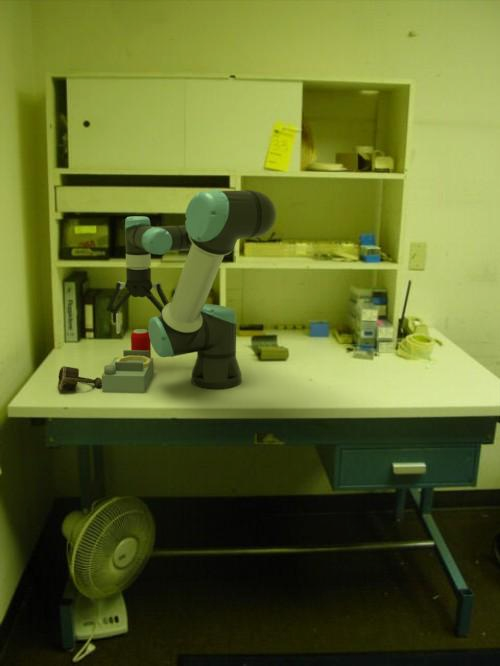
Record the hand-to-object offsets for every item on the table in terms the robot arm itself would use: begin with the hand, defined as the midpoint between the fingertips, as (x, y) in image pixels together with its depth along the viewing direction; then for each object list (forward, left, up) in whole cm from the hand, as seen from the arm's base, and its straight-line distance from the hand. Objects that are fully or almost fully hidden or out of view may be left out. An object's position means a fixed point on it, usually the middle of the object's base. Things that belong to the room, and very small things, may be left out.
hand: (140, 333), depth 196 cm
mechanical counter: (+14, +22, -11) cm, 28 cm away
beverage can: (0, 0, -11) cm, 11 cm away
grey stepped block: (+1, +15, -11) cm, 19 cm away
